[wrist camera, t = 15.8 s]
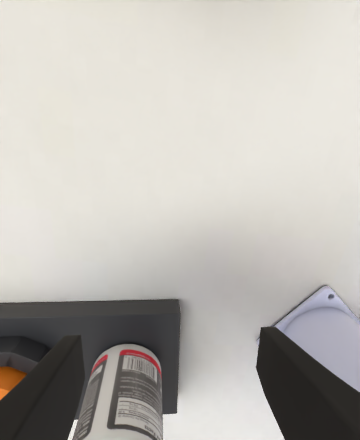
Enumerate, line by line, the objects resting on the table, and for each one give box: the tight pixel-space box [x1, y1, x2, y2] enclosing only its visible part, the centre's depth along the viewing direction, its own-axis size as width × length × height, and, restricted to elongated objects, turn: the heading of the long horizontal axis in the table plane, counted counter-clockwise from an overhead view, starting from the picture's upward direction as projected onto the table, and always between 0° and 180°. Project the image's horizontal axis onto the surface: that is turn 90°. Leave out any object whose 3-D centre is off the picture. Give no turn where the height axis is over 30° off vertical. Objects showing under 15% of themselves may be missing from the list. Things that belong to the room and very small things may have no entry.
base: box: [0, 300, 180, 420], centre depth 21 cm, size 16×10×4 cm, turn 89°
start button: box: [0, 366, 27, 400], centre depth 18 cm, size 4×4×2 cm
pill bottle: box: [72, 344, 163, 440], centre depth 16 cm, size 5×5×10 cm
